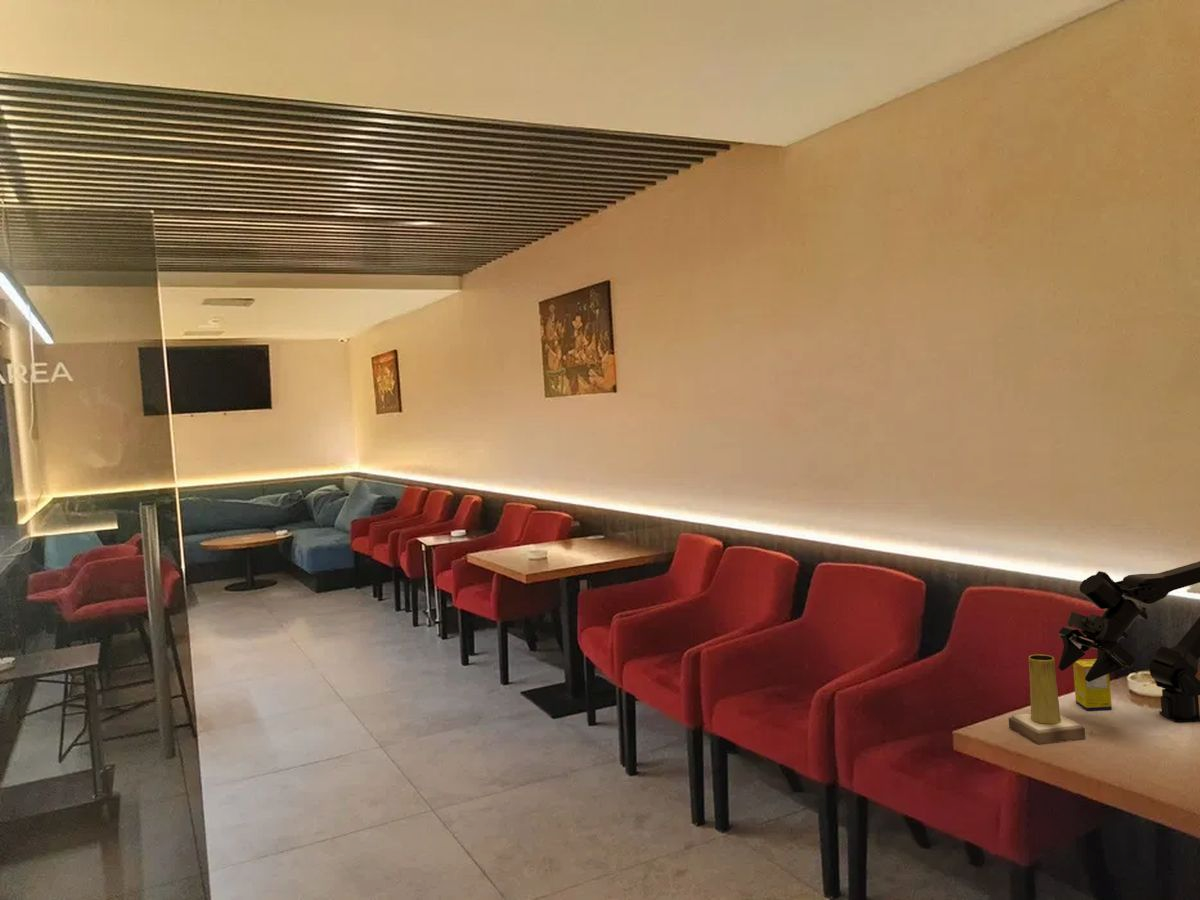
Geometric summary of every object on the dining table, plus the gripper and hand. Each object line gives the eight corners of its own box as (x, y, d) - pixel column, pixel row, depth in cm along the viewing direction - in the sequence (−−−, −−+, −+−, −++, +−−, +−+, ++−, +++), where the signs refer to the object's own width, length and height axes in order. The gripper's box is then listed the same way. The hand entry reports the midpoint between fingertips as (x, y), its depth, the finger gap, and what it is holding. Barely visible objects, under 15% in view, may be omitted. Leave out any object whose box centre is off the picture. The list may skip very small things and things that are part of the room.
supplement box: (1100, 702, 209) (1097, 658, 209) (1112, 710, 203) (1109, 664, 203) (1074, 703, 210) (1071, 659, 209) (1086, 711, 204) (1083, 666, 203)
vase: (1041, 725, 188) (1037, 662, 188) (1024, 717, 194) (1020, 655, 194) (1067, 722, 189) (1062, 659, 189) (1049, 713, 195) (1045, 652, 195)
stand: (1053, 722, 198) (1052, 710, 198) (1085, 738, 187) (1084, 725, 187) (1009, 727, 197) (1008, 715, 196) (1038, 744, 186) (1037, 730, 186)
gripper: (1063, 592, 202) (1022, 643, 201) (1118, 607, 183) (1074, 663, 182) (1096, 621, 203) (1056, 672, 202) (1155, 639, 184) (1111, 695, 183)
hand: (1073, 675), depth 192 cm, fingers open, 9 cm apart
